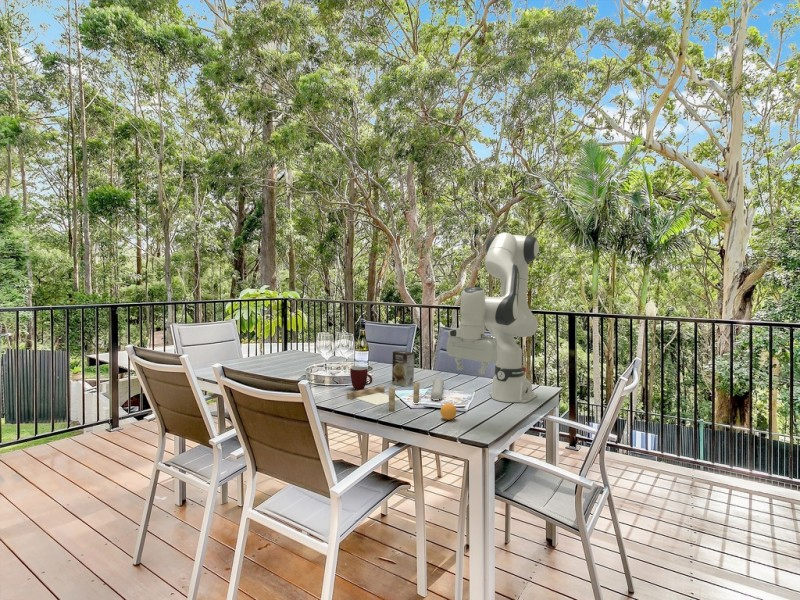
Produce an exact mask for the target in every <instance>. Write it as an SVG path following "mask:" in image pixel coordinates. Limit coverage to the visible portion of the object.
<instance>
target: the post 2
mask: <svg viewBox="0 0 800 600" xmlns="http://www.w3.org/2000/svg"><path fill="white" fill-rule="evenodd" d="M412 393H413V394H412V397H413V399H412V403H413V402H414V403H418V402H419V403H420V382H418V381H415V382H414V381H413V392H412Z"/></svg>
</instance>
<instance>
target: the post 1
mask: <svg viewBox="0 0 800 600" xmlns="http://www.w3.org/2000/svg"><path fill="white" fill-rule="evenodd" d="M388 395H389V403H388V411H389V412H395V411H396V401H395V397H396V387H393V386H391V387H389V388H388Z"/></svg>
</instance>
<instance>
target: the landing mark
mask: <svg viewBox="0 0 800 600" xmlns="http://www.w3.org/2000/svg"><path fill="white" fill-rule="evenodd" d="M400 399H401V398H399V397H396V396H395V402H397V401H400ZM355 400H359V401H362V402H366V403H368V404H370V405H374V406H379V405H385V404H389V394H386V393H384V392H382V393H376V394H371V395H367V396H362V397H357V398H355Z"/></svg>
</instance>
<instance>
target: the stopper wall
mask: <svg viewBox="0 0 800 600" xmlns="http://www.w3.org/2000/svg"><path fill="white" fill-rule="evenodd" d="M385 389H386V387H385V386H383V385H380V386H374V387H369V388H364V389H363V390H359V391H358V390H354V391H351V392H347V393H346V399H347V400H349V399H350V400H355V399H356V398H357V397H362V396H367V395H371V394H376V393H385V392H386V390H385ZM354 398H355V399H354Z"/></svg>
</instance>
